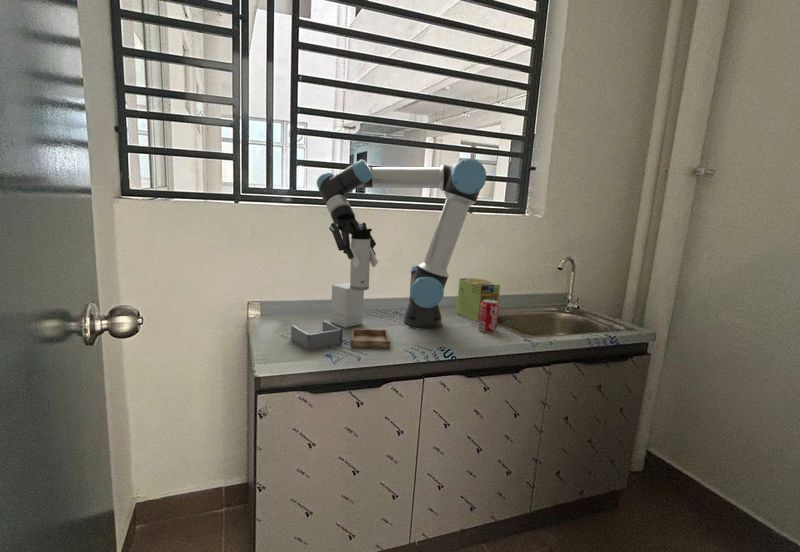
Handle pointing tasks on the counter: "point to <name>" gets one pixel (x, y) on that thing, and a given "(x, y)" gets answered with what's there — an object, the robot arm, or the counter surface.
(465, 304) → the protein box
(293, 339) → the bay
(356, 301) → the supplement box
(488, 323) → the soda can
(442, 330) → the counter surface
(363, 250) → the travel mug
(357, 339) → the tray
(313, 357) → the counter surface
